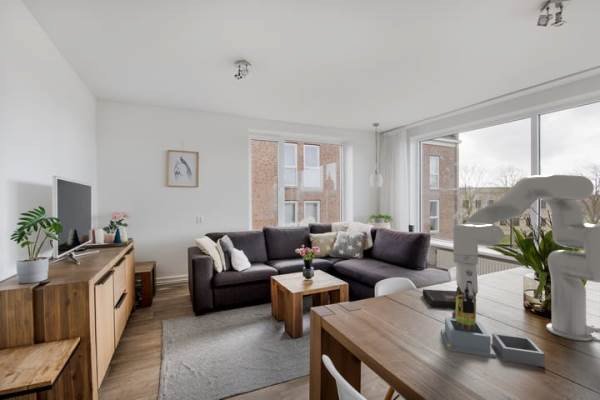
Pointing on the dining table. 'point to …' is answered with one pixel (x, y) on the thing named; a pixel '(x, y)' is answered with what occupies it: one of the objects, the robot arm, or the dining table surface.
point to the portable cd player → (440, 298)
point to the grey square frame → (518, 349)
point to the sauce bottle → (462, 318)
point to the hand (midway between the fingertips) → (465, 308)
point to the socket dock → (467, 339)
